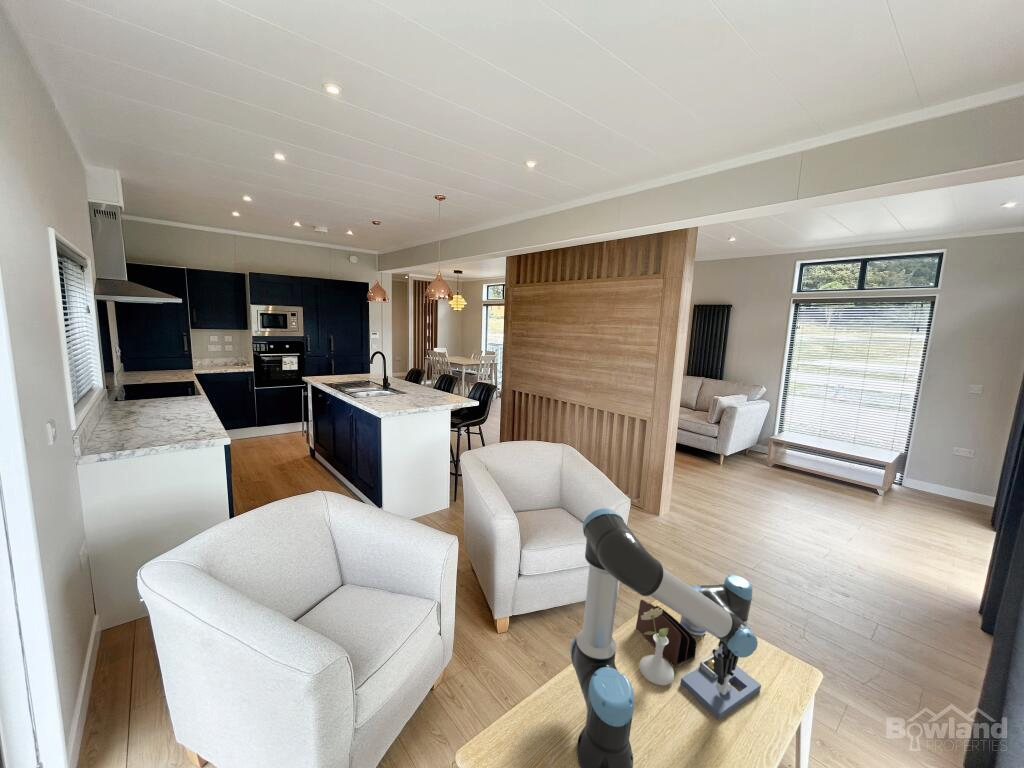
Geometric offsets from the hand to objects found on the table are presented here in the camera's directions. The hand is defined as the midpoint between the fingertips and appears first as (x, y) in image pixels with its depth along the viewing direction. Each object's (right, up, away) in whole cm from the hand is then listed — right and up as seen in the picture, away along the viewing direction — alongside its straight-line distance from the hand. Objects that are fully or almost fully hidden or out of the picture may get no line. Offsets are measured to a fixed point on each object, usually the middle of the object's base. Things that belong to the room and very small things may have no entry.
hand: (721, 690), depth 134 cm
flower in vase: (-18, -2, +10) cm, 21 cm away
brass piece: (+2, +2, +9) cm, 10 cm away
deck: (+3, -3, +6) cm, 7 cm away
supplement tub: (+5, +1, +32) cm, 33 cm away
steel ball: (+2, 0, +2) cm, 3 cm away
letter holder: (-10, 0, +24) cm, 26 cm away
